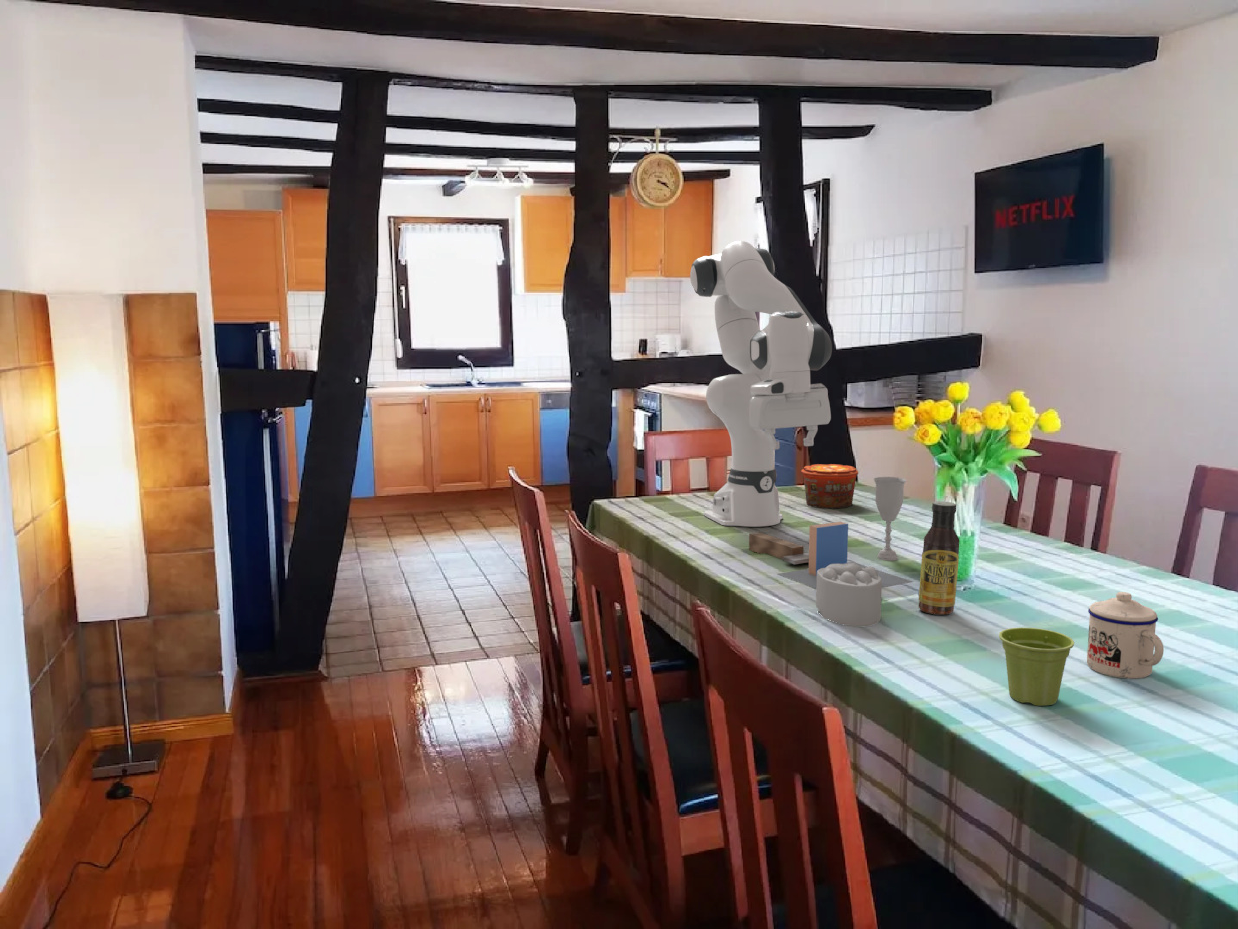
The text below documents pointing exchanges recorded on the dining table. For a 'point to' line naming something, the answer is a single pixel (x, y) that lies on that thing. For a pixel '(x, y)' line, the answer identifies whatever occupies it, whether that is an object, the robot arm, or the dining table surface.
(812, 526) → the tile
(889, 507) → the chalice
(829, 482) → the food container
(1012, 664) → the plant pot
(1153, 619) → the teacup with lid
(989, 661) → the dining table surface
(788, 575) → the mat
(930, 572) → the sauce bottle
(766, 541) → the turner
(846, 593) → the lumpy-topped squat cylinder
